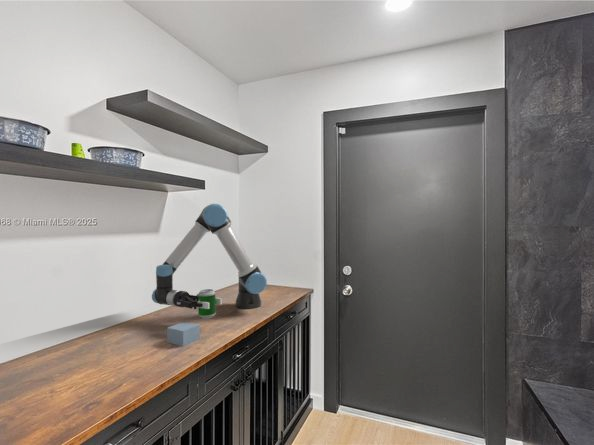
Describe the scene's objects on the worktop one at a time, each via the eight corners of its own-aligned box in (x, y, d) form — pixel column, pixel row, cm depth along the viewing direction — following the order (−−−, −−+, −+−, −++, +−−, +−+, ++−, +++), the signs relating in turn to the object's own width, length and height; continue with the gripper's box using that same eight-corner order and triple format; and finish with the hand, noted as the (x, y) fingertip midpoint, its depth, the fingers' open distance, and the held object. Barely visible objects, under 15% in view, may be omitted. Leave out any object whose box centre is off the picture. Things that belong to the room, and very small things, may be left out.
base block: (184, 335, 137) (184, 321, 137) (199, 338, 133) (199, 324, 133) (167, 342, 129) (167, 327, 129) (183, 346, 125) (183, 331, 125)
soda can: (218, 314, 147) (218, 289, 147) (210, 319, 140) (209, 292, 140) (204, 313, 149) (204, 288, 149) (195, 318, 142) (194, 292, 142)
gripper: (194, 301, 162) (229, 306, 152) (161, 311, 144) (198, 318, 134) (194, 286, 162) (229, 290, 152) (161, 295, 144) (198, 300, 133)
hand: (215, 303), depth 143 cm, fingers closed on soda can, 7 cm apart
